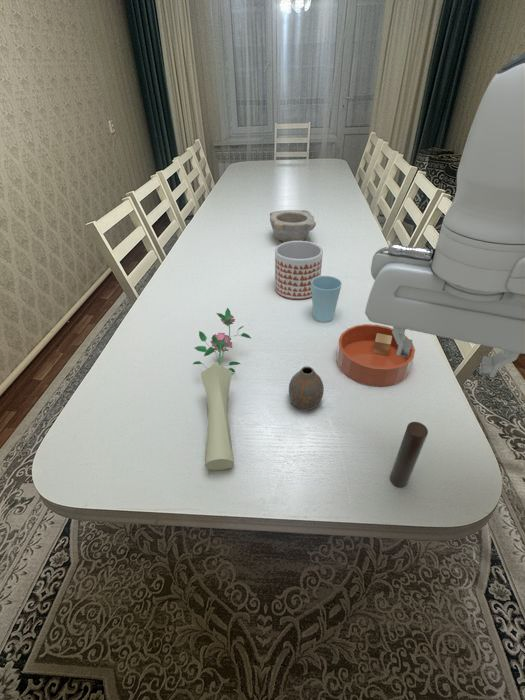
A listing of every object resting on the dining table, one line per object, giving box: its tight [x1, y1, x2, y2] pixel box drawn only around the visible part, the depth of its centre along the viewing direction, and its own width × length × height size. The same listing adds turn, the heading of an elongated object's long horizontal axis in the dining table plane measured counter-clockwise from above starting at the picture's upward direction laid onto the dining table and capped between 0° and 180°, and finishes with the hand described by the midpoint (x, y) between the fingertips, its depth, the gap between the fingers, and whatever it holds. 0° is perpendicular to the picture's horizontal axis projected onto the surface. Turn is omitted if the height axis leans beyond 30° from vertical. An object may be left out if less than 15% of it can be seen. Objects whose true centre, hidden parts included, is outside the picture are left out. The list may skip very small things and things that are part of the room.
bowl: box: [336, 323, 416, 387], centre depth 81 cm, size 16×16×5 cm
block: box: [373, 333, 392, 356], centre depth 84 cm, size 4×4×4 cm
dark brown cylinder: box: [389, 421, 429, 488], centre depth 55 cm, size 3×3×13 cm
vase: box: [288, 365, 325, 411], centre depth 71 cm, size 7×7×9 cm
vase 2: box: [274, 240, 324, 300], centre depth 106 cm, size 14×14×13 cm
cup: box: [311, 275, 343, 323], centre depth 95 cm, size 8×8×10 cm
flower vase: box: [192, 307, 252, 471], centre depth 72 cm, size 12×12×35 cm
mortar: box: [269, 209, 317, 243], centre depth 139 cm, size 17×17×9 cm
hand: (442, 363), depth 44 cm, fingers open, 8 cm apart
